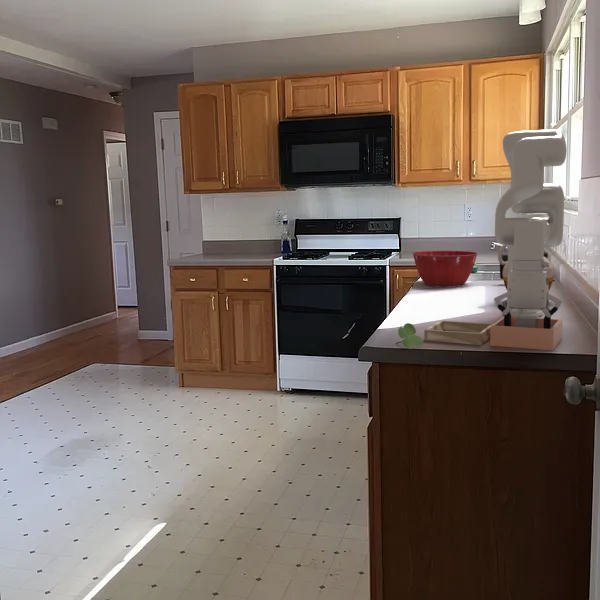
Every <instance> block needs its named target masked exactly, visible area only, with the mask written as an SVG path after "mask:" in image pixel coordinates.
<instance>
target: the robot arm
mask: <svg viewBox="0 0 600 600" xmlns="http://www.w3.org/2000/svg"><path fill="white" fill-rule="evenodd" d="M502 150H503V153H504V156H505V158H506V159H505V160H507V164H508V166H509V171H510V187H509V188H508V189H507V190H506V191H505V192H504V193H503V195H502V196H501V197H500V199H499V200H498V203H497V205H496V208H495V216H494V218H495V219H494V236H495V240H496V242H497V243H498V244H499V245H501V246H503V245H507V247H506V249H507V253H508V283H507V290H506V291H507V292H504V293H502V294H499V295H497V296H496V297H494V298H493V301H494V302H495V304H496V307H497V308H498V310H499V311H500V312H501V314H502V315H503V316H504V326H509V327H511V317H518V316H519V315H527V316H538V317H542V315H543V314H544V317H543V318H544V329H550V327H551V319H552V316H553V315H554V314H555V313H557V311H558V310H559V309H560V307H561V305H562V304H563V300H562V299H561V298H558V297H557V296H555V295H553V294H551V293H550V290H549V289H548V277H547V272H546V271H543V269H544V268H546V267H549V262H550V261H549V262H545V261H544V252H545V248H555V247H557V248H558V246H560V245H561V244H562V242H563V239H564V238H563V237H564V222H565V221H564V218H565V217H564V215H565V193H564V190H563V189H564V188H563V187H562V186H561V185H560V184H558V183H545V179H544V178H545V177H544V167H559V166H562V165H564V163H565V161H566V158H567V143H566V138H565V135H564V133H563V132H562V130H560V129H556V128H555V129H539V130H538V129H537V130H536V129H535V130H520V131H513V132H509V133H507V134H505V135H504V137H503V138H502ZM510 208H511V211H512V212H513V213H514V214H517V215H547V216H548V217H506V215H507V214H506V213H507V212H508V210H509V209H510ZM504 299H506V307H505V305H504V304H503V302H502V300H504ZM550 301H551V302H553V303H554V306H553V307H552V308H551V309H550V308H549V307H548V306H549V302H550Z"/></svg>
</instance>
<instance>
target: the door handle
mask: <svg viewBox="0 0 600 600" xmlns="http://www.w3.org/2000/svg"><path fill="white" fill-rule="evenodd" d="M544 257H545V258H546V259H548V257H549V252H548V251H544ZM502 260H503V261H504V262H506V261H508V252H505V253H502ZM503 268H504V265H501V264H500V263H499V278H500V279H501V280H503Z"/></svg>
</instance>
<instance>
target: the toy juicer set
mask: <svg viewBox="0 0 600 600" xmlns="http://www.w3.org/2000/svg"><path fill="white" fill-rule="evenodd" d="M479 267H480V266H479V265H477V262H475V263H474V266H473V269H472V271H471V274H470V276H471V275H472V276H473V275H475V276H483V273H477V271H478V270H479Z"/></svg>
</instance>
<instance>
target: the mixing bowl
mask: <svg viewBox="0 0 600 600" xmlns="http://www.w3.org/2000/svg"><path fill="white" fill-rule="evenodd" d="M411 255H413V259H414V260H413V261H414V265H415V267H416V270H417V272H418V274H419V276H420V278H421V281H422V282H423V283H424V284H425V285H426V286H428V285H429V286H428V287H435V286H455V287H459V286H458V285H461V286H463V285H464V284H466V283H467V281H468V279H469V278H470V276H471V275H470V274H472V273H471V271H472V269H473V266H474V263H476V259H477V256H478V252H475V251H469V250H467V251H466V250H423V251H421V250H420V251H414V252H412V254H411Z"/></svg>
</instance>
